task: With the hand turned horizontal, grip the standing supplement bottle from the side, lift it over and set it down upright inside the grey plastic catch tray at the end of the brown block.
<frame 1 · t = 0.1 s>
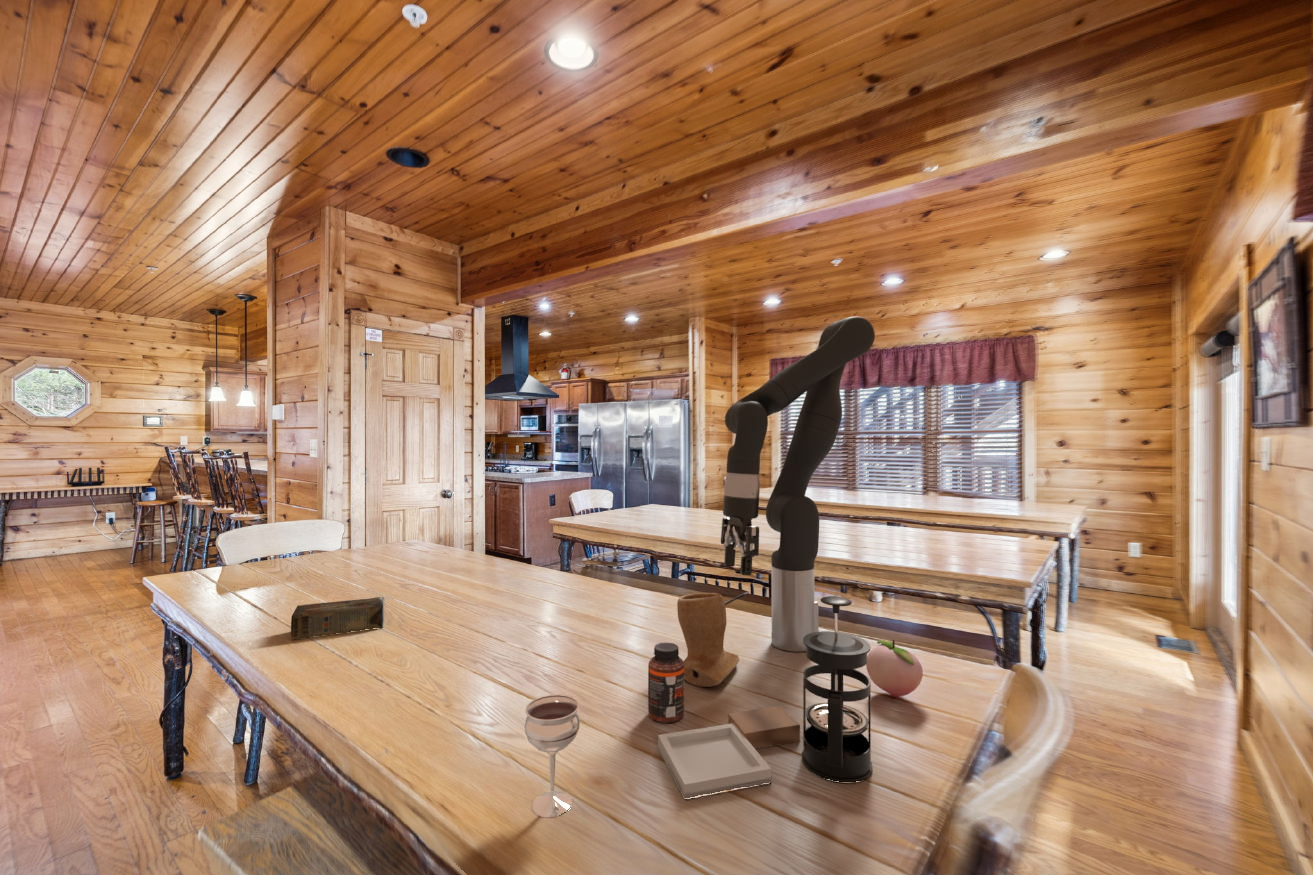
hand: (737, 570, 117), 17 cm above the table, tool pointing down, fingers open, 8 cm apart
catch tray: (711, 765, 76), on the table
french press: (836, 766, 76), on the table
decorative fruit: (892, 698, 96), on the table
brown block: (763, 735, 84), on the table
wineglass: (552, 805, 68), on the table
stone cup: (704, 673, 107), on the table
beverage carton: (340, 631, 131), on the table
supplement bottle: (666, 716, 90), on the table
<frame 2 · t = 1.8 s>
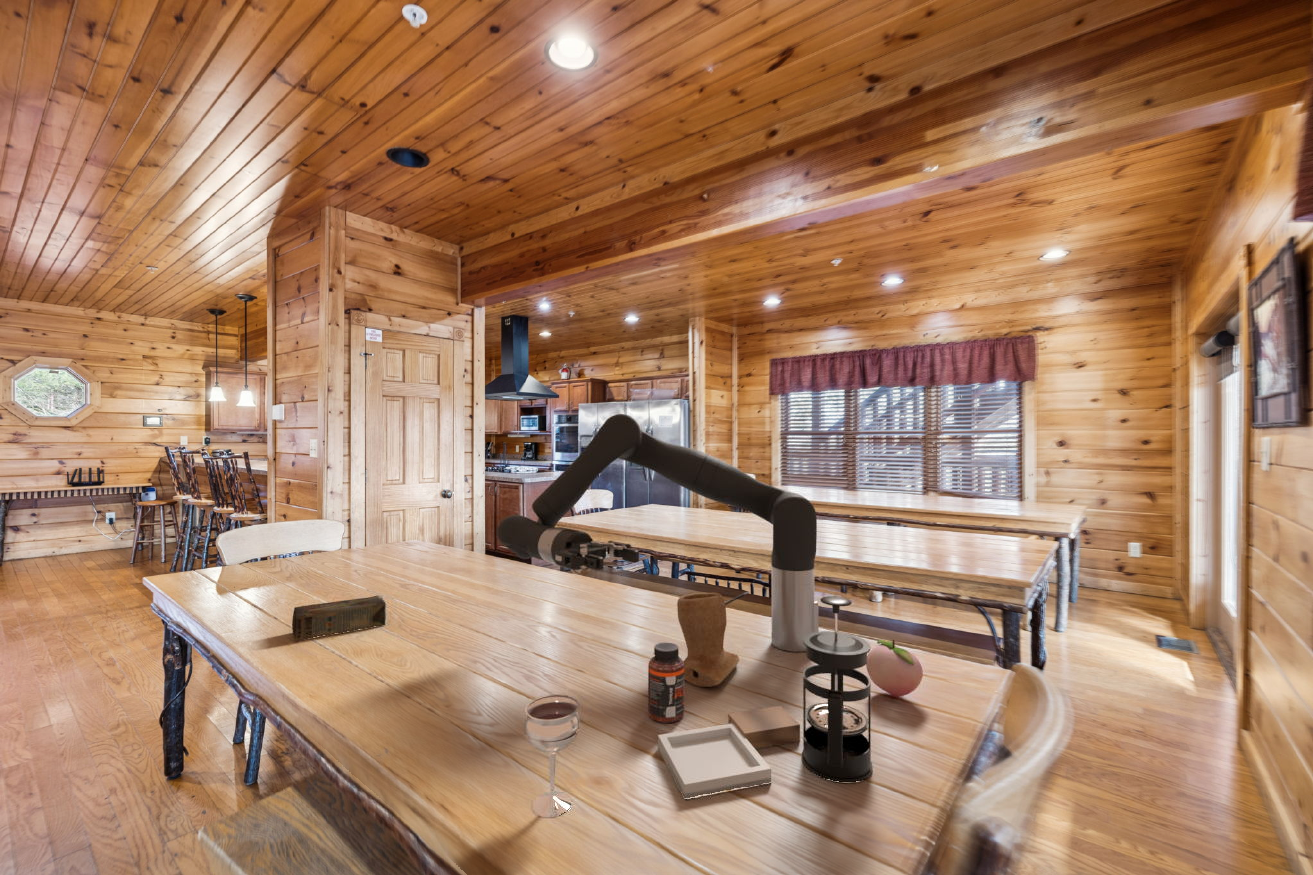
hand: (620, 560, 98), 24 cm above the table, tool horizontal, fingers open, 8 cm apart
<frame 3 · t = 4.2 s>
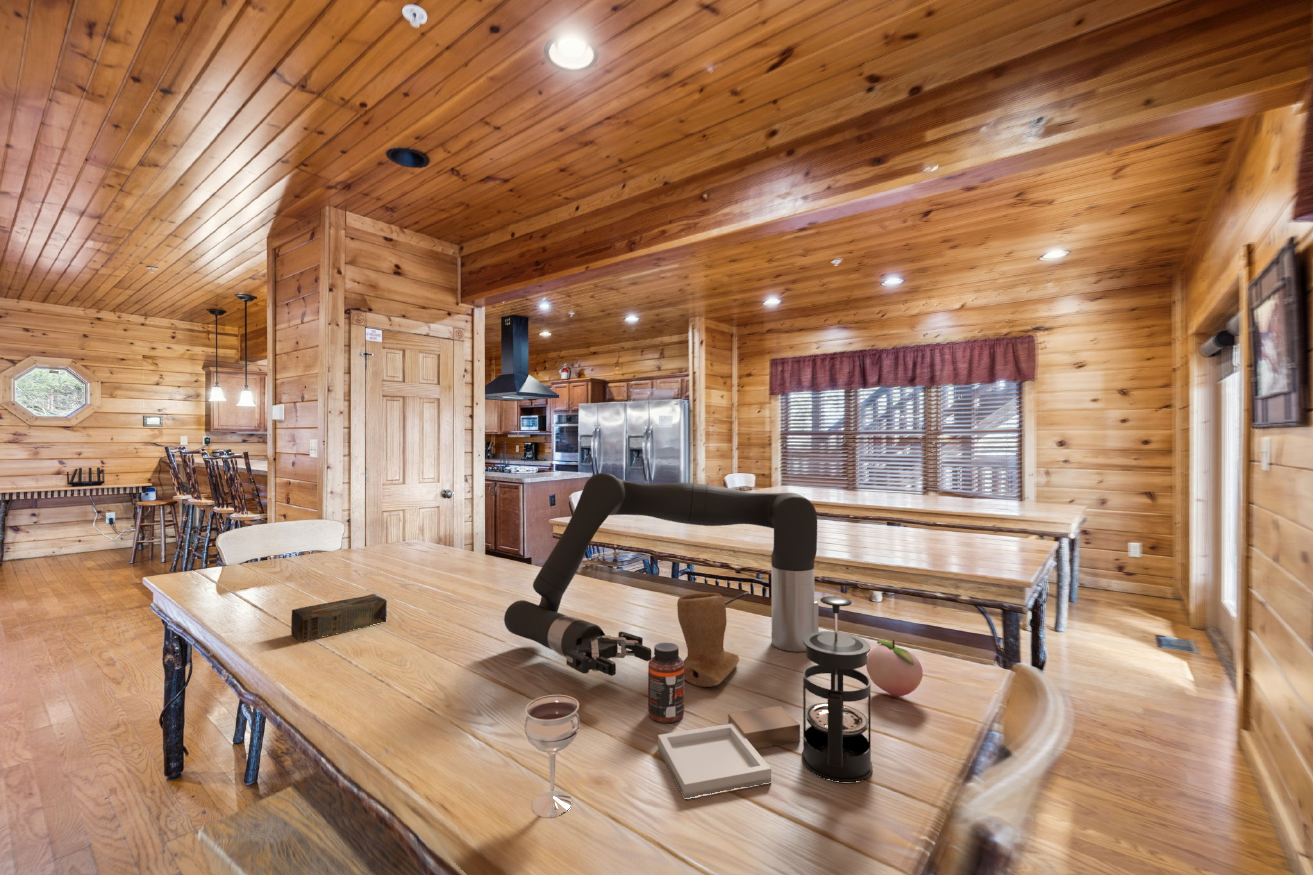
hand: (632, 662, 96), 6 cm above the table, tool horizontal, fingers open, 8 cm apart
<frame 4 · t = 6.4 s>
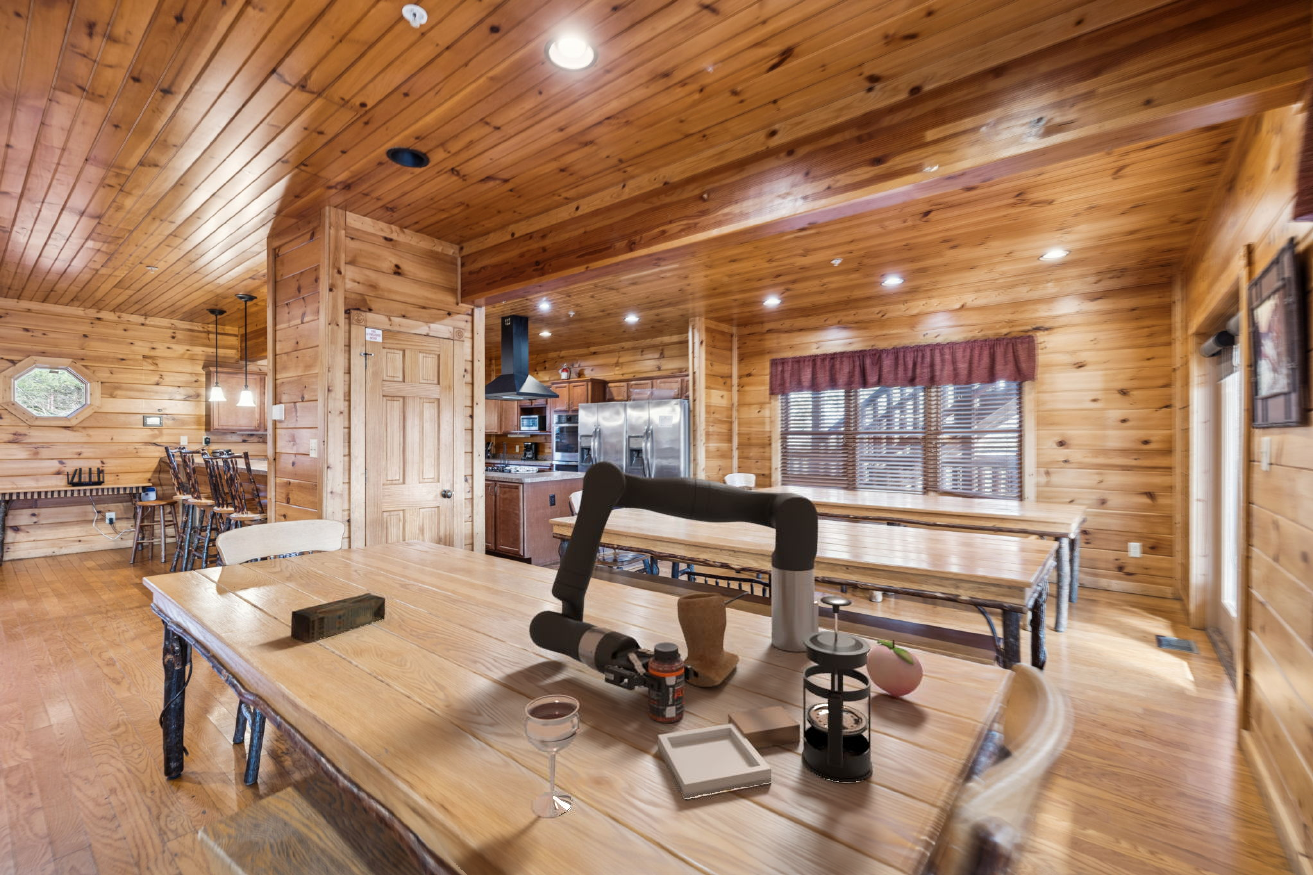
hand: (677, 679, 88), 7 cm above the table, tool horizontal, fingers closed on supplement bottle, 6 cm apart
supplement bottle: (666, 716, 90), on the table, touching gripper
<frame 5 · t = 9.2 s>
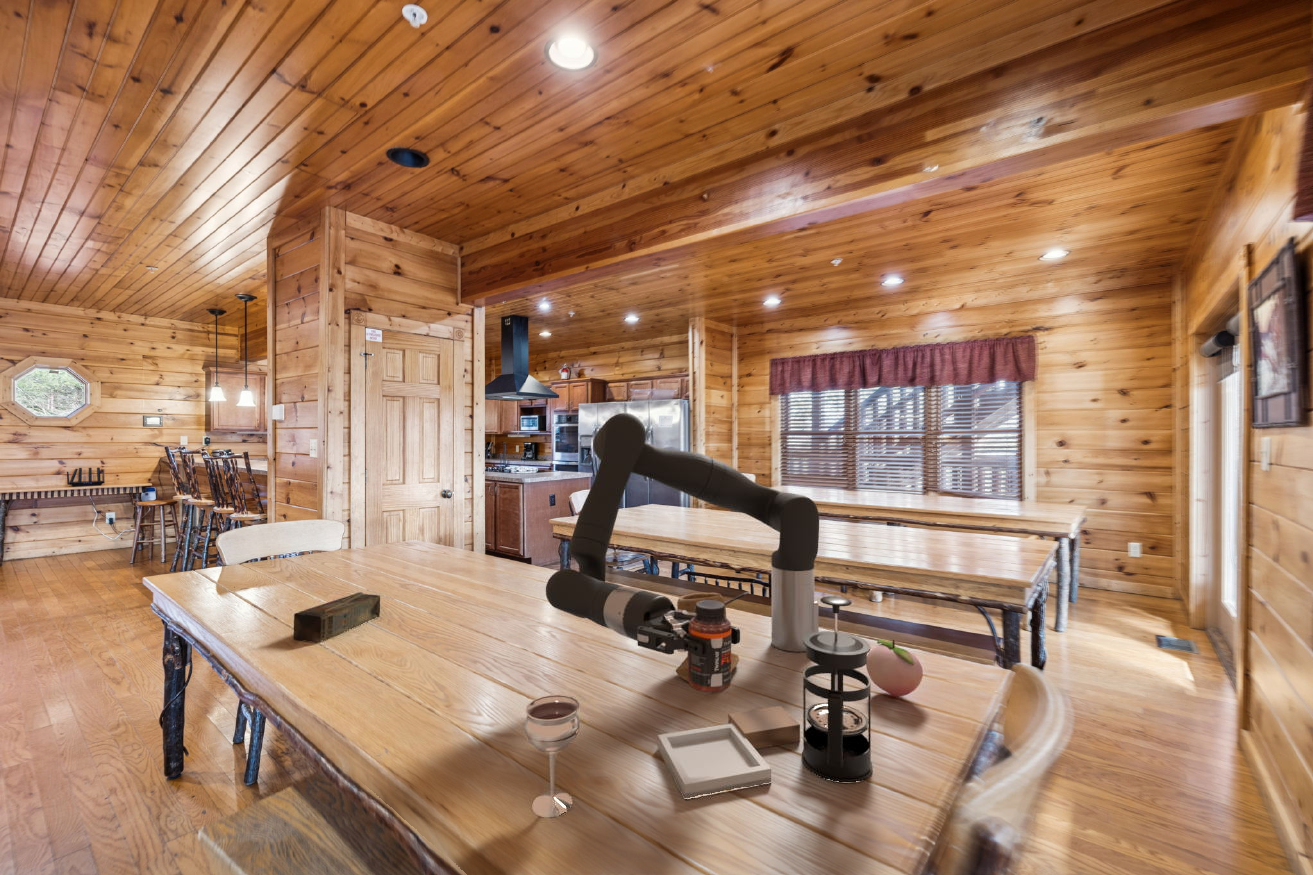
hand: (724, 642, 75), 18 cm above the table, tool horizontal, fingers closed on supplement bottle, 6 cm apart
supplement bottle: (709, 686, 76), point 11 cm above the table, touching gripper
when the fingers open (9 cm above the table, at t = 11.8 s): supplement bottle drops 1 cm, resting on catch tray.
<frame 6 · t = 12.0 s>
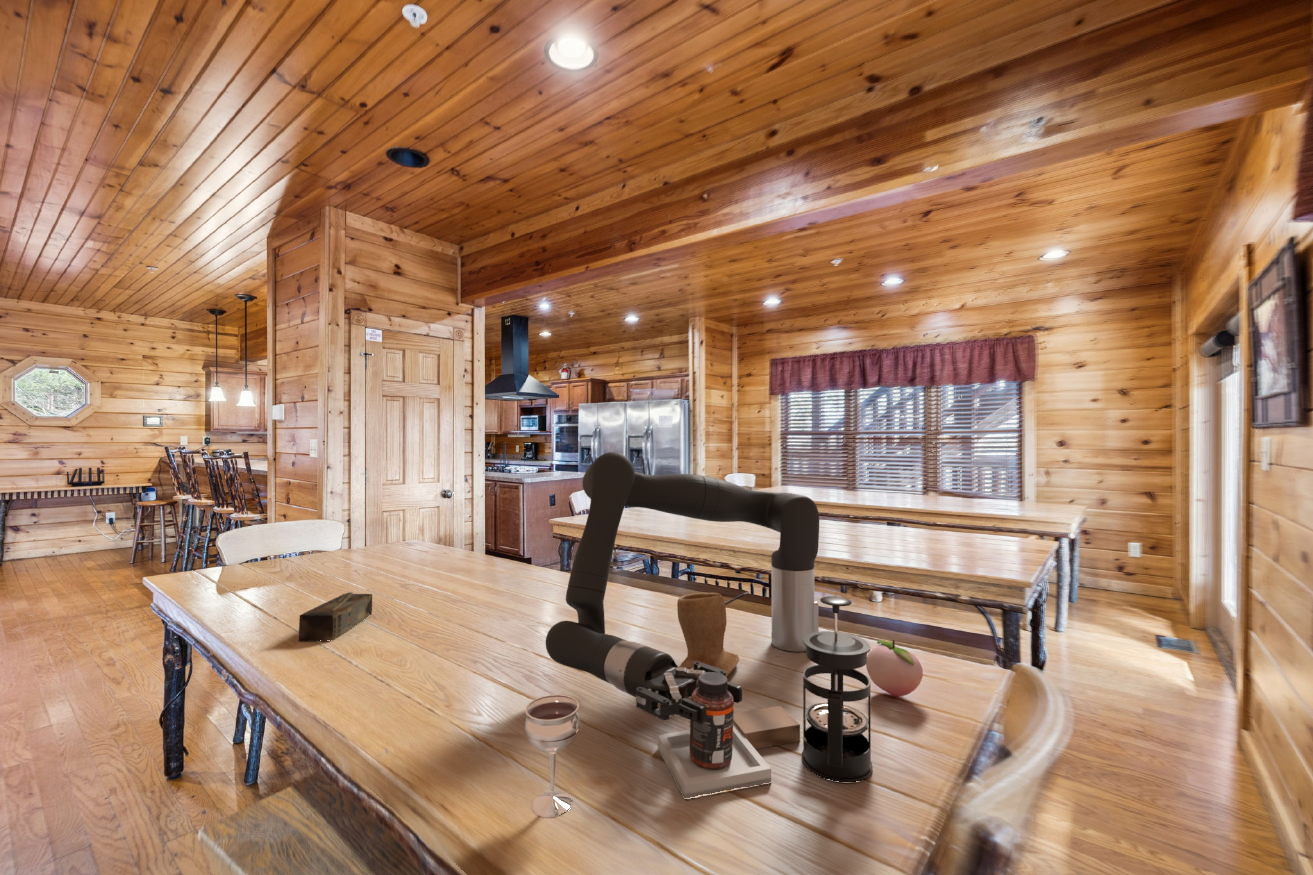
hand: (723, 705, 75), 9 cm above the table, tool horizontal, fingers open, 7 cm apart
supplement bottle: (710, 759, 76), point 1 cm above the table, touching catch tray
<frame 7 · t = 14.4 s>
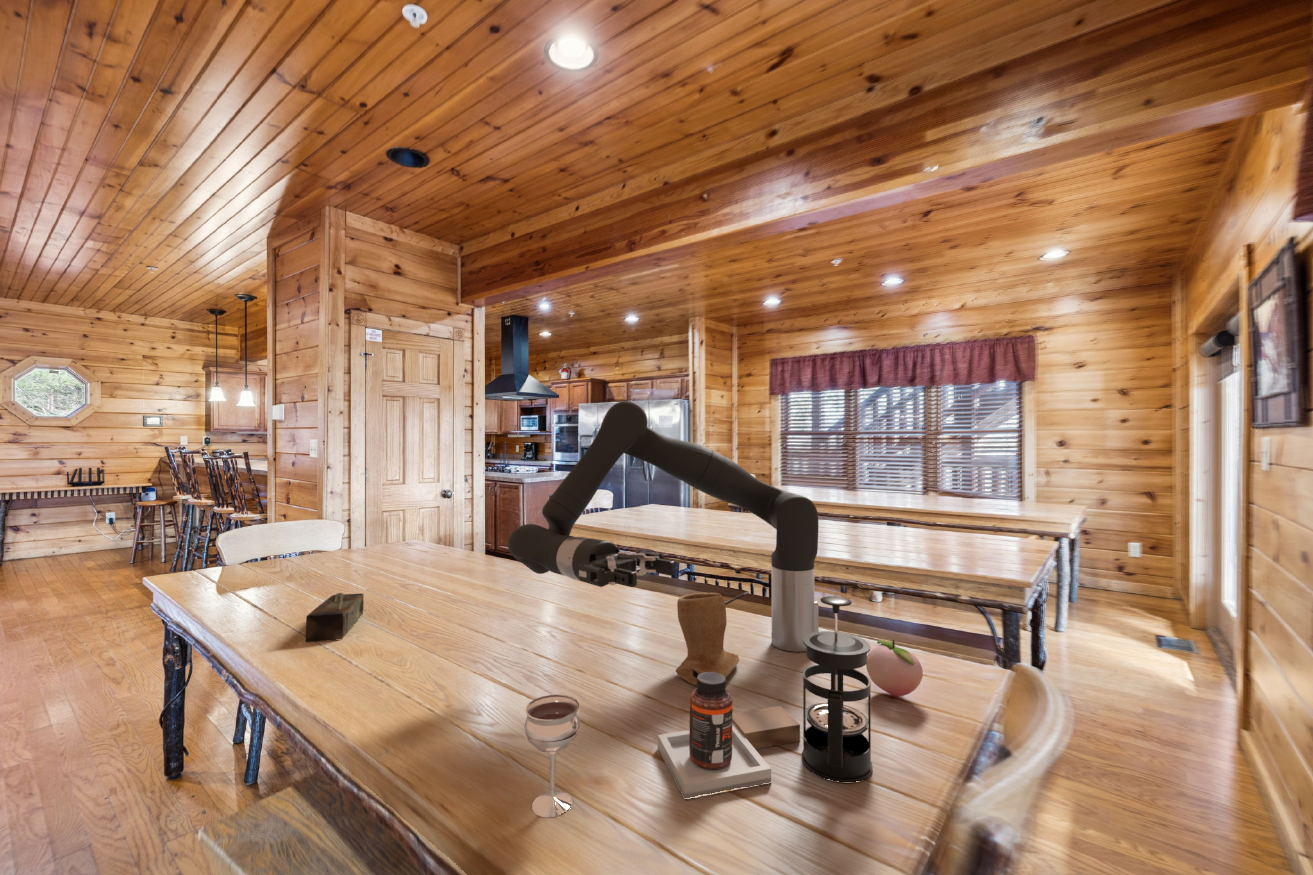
hand: (655, 574, 84), 25 cm above the table, tool horizontal, fingers open, 8 cm apart
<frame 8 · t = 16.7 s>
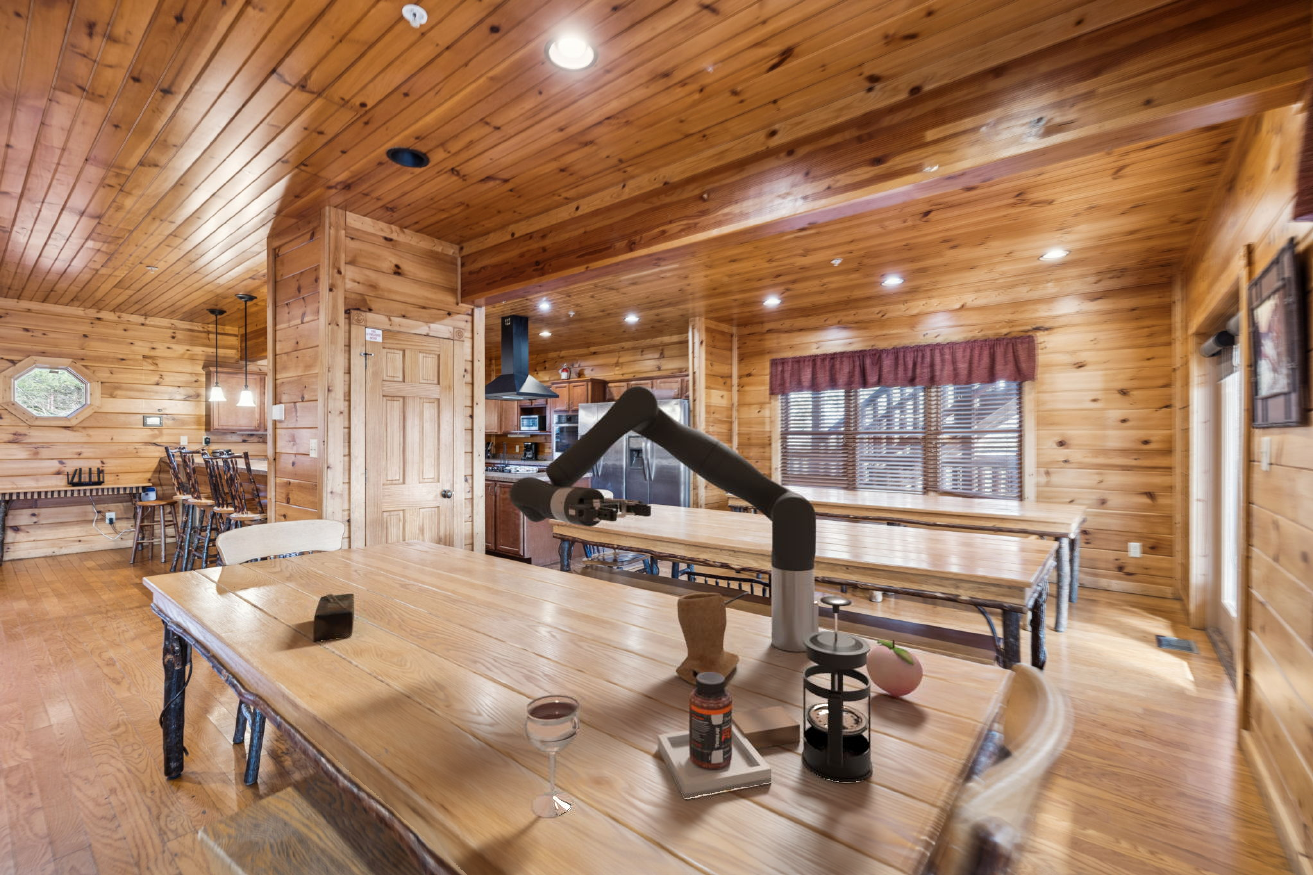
hand: (633, 513, 99), 32 cm above the table, tool horizontal, fingers open, 8 cm apart
at the end: supplement bottle inside the target area on the catch tray (0.1 cm from its centre), point 0.6 cm above the catch tray's base; supplement bottle tilted 0°; the gripper is holding nothing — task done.
